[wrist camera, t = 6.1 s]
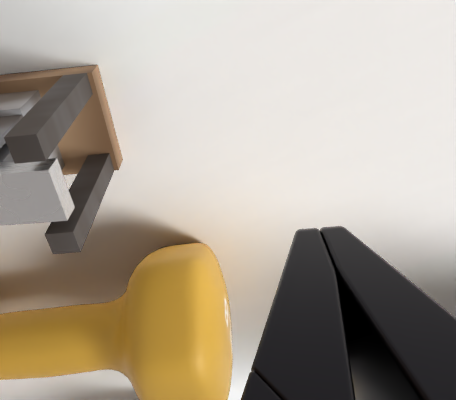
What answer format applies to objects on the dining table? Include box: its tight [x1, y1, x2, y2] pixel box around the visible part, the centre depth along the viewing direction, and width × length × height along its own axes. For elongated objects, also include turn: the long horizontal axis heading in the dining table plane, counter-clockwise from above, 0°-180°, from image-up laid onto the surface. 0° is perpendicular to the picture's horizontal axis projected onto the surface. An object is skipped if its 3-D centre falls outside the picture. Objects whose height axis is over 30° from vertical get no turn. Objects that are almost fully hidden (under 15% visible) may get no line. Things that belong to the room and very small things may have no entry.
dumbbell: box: [0, 243, 232, 400], centre depth 23 cm, size 19×9×8 cm, turn 97°
